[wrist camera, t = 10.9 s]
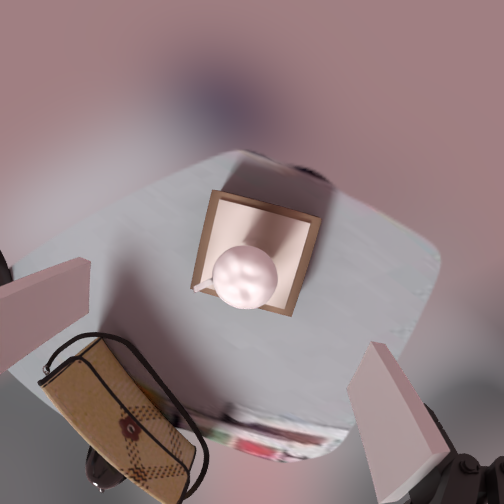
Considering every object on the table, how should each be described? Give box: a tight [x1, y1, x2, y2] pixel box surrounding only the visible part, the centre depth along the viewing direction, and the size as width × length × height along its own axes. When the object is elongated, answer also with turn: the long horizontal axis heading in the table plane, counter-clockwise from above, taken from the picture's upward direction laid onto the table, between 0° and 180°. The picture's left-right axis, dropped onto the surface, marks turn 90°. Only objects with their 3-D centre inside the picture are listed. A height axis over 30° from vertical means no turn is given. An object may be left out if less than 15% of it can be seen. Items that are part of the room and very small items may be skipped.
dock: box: [190, 190, 322, 317], centre depth 29 cm, size 11×10×4 cm
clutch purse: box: [37, 332, 209, 504], centre depth 30 cm, size 30×7×15 cm, turn 31°
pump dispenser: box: [85, 445, 127, 493], centre depth 33 cm, size 10×10×15 cm
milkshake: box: [193, 239, 278, 309], centre depth 22 cm, size 4×5×10 cm
